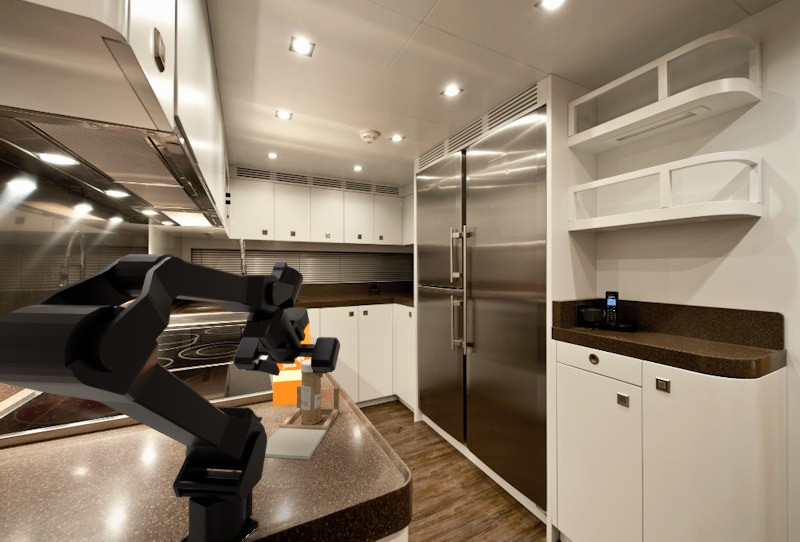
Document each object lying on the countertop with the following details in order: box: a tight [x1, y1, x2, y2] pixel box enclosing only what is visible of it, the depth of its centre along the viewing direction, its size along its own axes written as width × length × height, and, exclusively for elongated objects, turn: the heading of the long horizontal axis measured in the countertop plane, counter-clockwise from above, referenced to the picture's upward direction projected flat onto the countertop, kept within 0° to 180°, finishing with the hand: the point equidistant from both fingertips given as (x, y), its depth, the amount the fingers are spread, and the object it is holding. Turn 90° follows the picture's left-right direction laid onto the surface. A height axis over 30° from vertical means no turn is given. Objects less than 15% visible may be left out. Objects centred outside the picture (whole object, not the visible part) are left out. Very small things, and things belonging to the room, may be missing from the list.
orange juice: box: [272, 321, 311, 407], centre depth 86 cm, size 8×9×20 cm
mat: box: [265, 428, 328, 460], centre depth 63 cm, size 10×10×1 cm
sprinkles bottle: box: [300, 358, 322, 425], centre depth 73 cm, size 5×5×14 cm
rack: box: [278, 386, 340, 431], centre depth 73 cm, size 10×10×6 cm
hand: (300, 374), depth 67 cm, fingers open, 9 cm apart
